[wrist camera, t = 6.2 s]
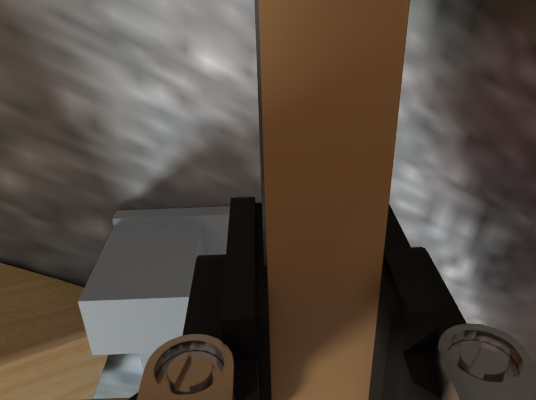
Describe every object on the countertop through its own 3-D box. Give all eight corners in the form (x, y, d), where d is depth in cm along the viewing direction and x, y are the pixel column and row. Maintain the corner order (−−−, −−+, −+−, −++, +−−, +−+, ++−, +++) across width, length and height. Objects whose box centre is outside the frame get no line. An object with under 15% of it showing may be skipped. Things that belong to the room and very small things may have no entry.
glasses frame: (351, -159, 9) (441, -247, 5) (325, 414, 17) (351, 584, 12) (-135, -145, 9) (-503, -223, 5) (60, 424, 17) (-9, 600, 12)
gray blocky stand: (273, 204, 34) (280, 284, 26) (278, 400, 44) (284, 502, 36) (116, 210, 34) (75, 292, 26) (155, 405, 44) (133, 509, 36)
